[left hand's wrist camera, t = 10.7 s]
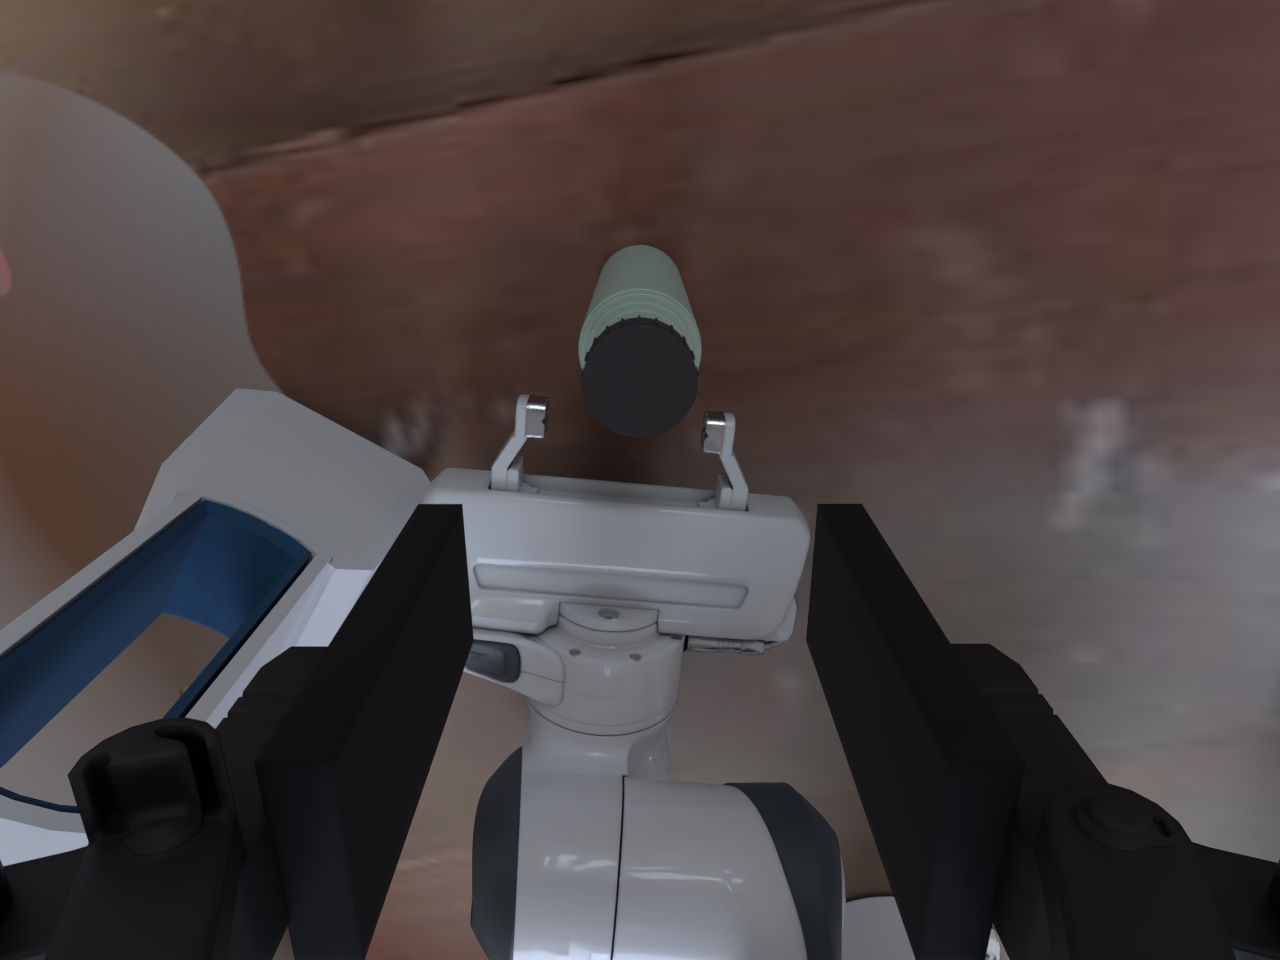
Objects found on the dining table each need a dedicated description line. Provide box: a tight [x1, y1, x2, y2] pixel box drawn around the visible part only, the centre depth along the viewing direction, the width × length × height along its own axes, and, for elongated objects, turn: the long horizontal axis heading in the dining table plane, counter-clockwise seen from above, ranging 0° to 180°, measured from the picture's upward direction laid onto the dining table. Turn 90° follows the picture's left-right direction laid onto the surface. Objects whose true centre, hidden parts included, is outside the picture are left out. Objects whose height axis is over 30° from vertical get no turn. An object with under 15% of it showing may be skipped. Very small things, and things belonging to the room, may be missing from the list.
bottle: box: [578, 245, 702, 371], centre depth 37 cm, size 5×5×20 cm
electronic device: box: [0, 388, 430, 866], centre depth 36 cm, size 12×8×30 cm, turn 59°
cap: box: [581, 315, 699, 437], centre depth 28 cm, size 4×4×2 cm
